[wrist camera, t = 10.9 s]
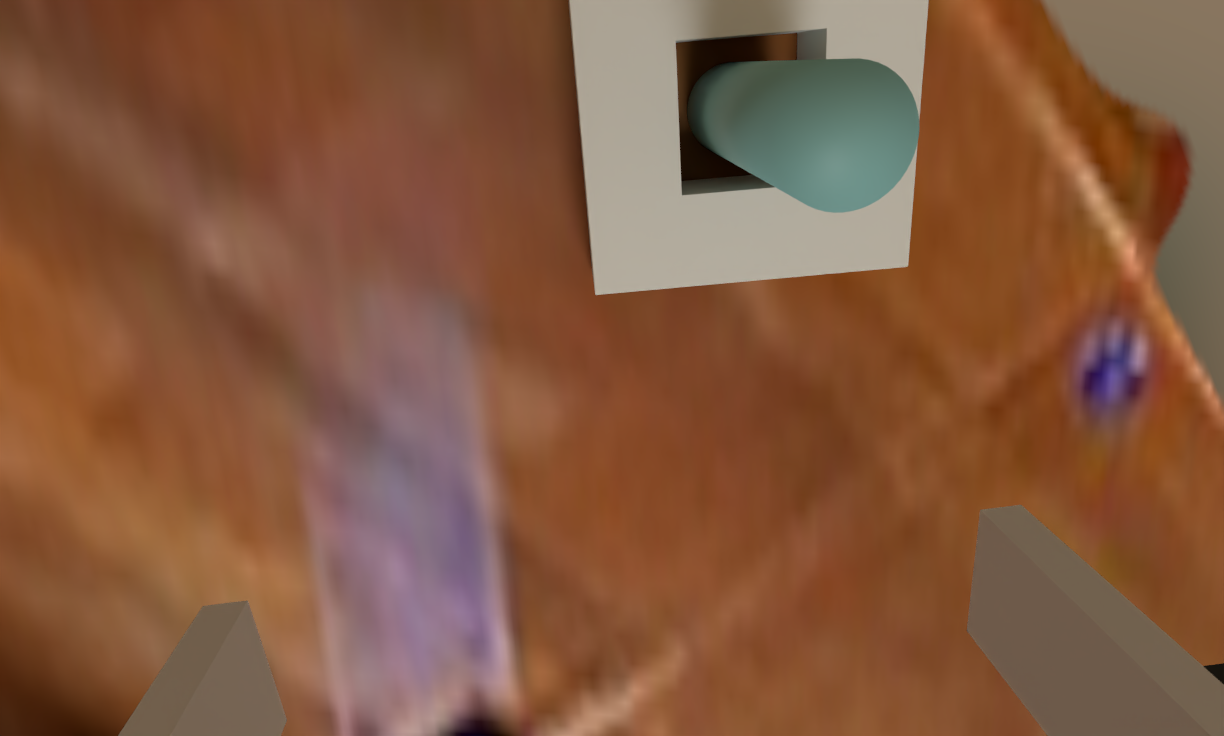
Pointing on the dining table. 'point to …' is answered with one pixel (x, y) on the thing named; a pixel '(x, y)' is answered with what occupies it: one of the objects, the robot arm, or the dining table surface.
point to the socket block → (728, 206)
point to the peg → (810, 126)
